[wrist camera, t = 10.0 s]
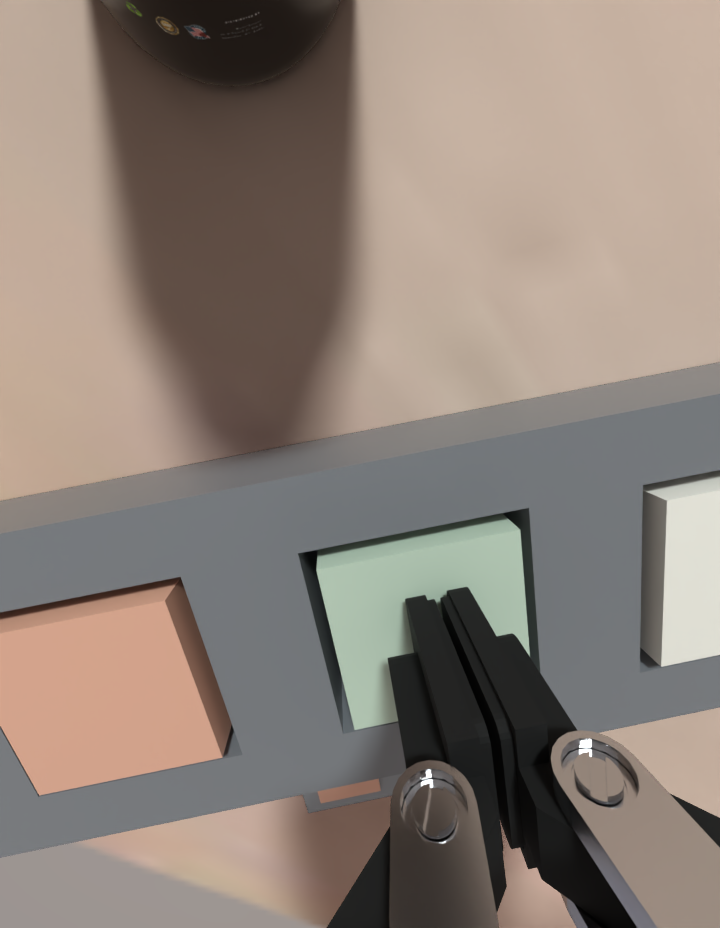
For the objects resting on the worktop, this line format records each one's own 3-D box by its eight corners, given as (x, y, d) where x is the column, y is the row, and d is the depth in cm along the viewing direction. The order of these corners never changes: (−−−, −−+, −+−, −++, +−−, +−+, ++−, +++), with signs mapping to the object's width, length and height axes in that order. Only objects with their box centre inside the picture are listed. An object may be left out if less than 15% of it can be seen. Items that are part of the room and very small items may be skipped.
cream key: (744, 438, 13) (864, 461, 10) (732, 575, 14) (834, 631, 11) (590, 468, 13) (666, 500, 10) (594, 603, 14) (661, 666, 11)
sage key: (477, 490, 13) (520, 529, 10) (491, 624, 14) (532, 693, 11) (320, 521, 13) (316, 570, 10) (350, 653, 14) (354, 730, 11)
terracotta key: (203, 544, 12) (164, 600, 10) (245, 674, 14) (222, 757, 11) (42, 576, 12) (-46, 642, 10) (100, 703, 14) (39, 795, 11)
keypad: (778, 350, 13) (958, 347, 10) (752, 597, 16) (884, 672, 12) (-30, 506, 13) (-184, 569, 9) (81, 735, 16) (-1, 857, 12)
